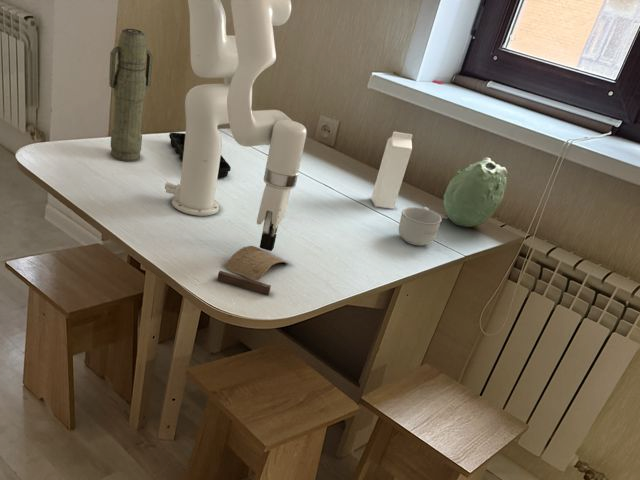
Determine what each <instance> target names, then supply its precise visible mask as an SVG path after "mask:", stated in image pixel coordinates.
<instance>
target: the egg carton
mask: <svg viewBox="0 0 640 480" xmlns="http://www.w3.org/2000/svg"><path fill="white" fill-rule="evenodd" d="M185 133H186V132H185ZM185 133H184V132H170V133H169V134H168V137H169V139H170V143H169V145H170V147H171V148H172V149H174V153H175V154H176V155H178V159H179V161H180V162H183V154H184V143H185ZM231 170H232V167H231V165H230V163H228V162H227V160H226V159H225V158H224V156H223V155H221V157H220V164H219V171H218V177H217V179H224V178H227V177H228V175H229V172H231Z"/></svg>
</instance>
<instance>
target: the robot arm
mask: <svg viewBox="0 0 640 480" xmlns="http://www.w3.org/2000/svg"><path fill="white" fill-rule="evenodd" d="M187 5H188V12H189V46H190V47H189V53H190V54H189V56H190V65H191V69H192V72H193V73H194V74H195V75H196V76H197V77H199V78H204V79H223V82H224V83H204V84H203V83H202V84H200V85H196V86H195V85H194V87H193V86H192V88H190V89H189V91H188V92H187V93H186V96H185V99H184V114H185V115H184V116H185V143H184V154H183V162H182V161H181V162H182V164H181V171H180V182H179V183H178V184H175V183H171V182H168V181H166V182H165V185H164V190H165V193H166V194H169V195H173V197H172V199H171V200H172V201H171V204H172V206H173V207H174V208H175V209H176V210H178V211H179V212H182V213H184V214H188V215H192V216H200V217H203V216H205V217H207V216H212V215H214V214H216V213H218V212H219V210H220V203H219V202H218V201H217V200H216V199H215V197H216V190H217V185H218V184H217V183H218V178H217V177H218V171H219V164H220V157H221V156H222V148H223V141H222V137H221V134H220V132H219V128H218V126H221V125H228V124H229V128H230V132H231V135H232V137H233V139H234V141H235V142H236V143H237V144H238V145H240V146H242V147H246V148H247V147H248V148H249V147H257V146H269V149H268V154H267V159H266V160H267V161H266V163H265V164H266V166H265V170H264V175H263V182H264V184H265V186H264V189H263V193H262V197H261V202H260V205H259V209H258V213H257V218H256V224H257V225H258V226H259V225H261V224H262V223H263V228H262V233H261V237H260V243H259V249H261V250H266V251H269V252H272V251H273V250H274V248H275V244H276V238H277V232H278V229H279V225H280V224H281V222H282V221H283V219H284V218H285V215H286V212H287V208H288V203H289V199H290V194H291V190H293V189H294V188H296V186H297V181H298V175H299V173H300V172H299V171H300V166H301V162H302V159H303V153H304V148H305V144H306V139H307V132H308V131H307V128H306V126H304V124H302V123H300V122H297V121H294V120H293V119H291V118H290V117H289V116H288V115H287V114H286V113H284V112H283V111H281V110H278V109H263V110H261V109H260V110H253V109H252V104H253V85H254V83H255V81H256V80H257V78H258V77H259V75H260V74H261V73H262V72H263V71H265V70H266V69H268V68H270V67H271V66H272V65H273V64H275V62H276V60H277V51H276V44H275V43H276V42H275V36H274V35H275V34H274V28H273V27H280V26H282V25H284V24H286V23H287V22H288V20H289V18H290V16H291V13H292V1H291V0H230V7H231V15H232V23H233V30H234V31H233V32H234V35H227V14H226V12H225V9H224V5H223V3H222V1H221V0H187Z"/></svg>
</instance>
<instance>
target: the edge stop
mask: <svg viewBox="0 0 640 480" xmlns="http://www.w3.org/2000/svg"><path fill="white" fill-rule="evenodd" d="M216 281H217V282H221V283H225V284H227V285H230V286H231V285H232V286H235V287H238V288H241V289H244V290H248V291H252V292H255V293H258V294H261V295H265V296H269V295H270V292H271V287H272V285H271V284H267V283H264V282H261V281H258V280H251V279H249V278H247V277H245V276H241V275H238V274H235V273H230V272H227V271H223V270H219V271H218V273H217V279H216Z"/></svg>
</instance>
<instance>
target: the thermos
mask: <svg viewBox="0 0 640 480" xmlns="http://www.w3.org/2000/svg"><path fill="white" fill-rule="evenodd" d="M117 43H118V44H117V46H115V47H113V48H112V50H111V51H110V52H109V53H110V55H109V76H108V80H109V81H108V83H109V87H110V88H112V89H113V93H112V94H113V97H114V108H113V127H112V131H111V133H110V148H111V149H110V150H111V151H110V156H111V158H113V159H115V160H117V161H121V162H128V163H132V162H137V161H139V160H140V159H141V152H142V143H143V133H142V121H143V107H144V100H145V99H146V91H147V90H148V89H149V88H150V87H151V82H152V69H153V68H152V67H153V55H152V53H151V51H150V50H149V49H147V47H148V45H147V39H146V34H145V33H144V32H142V30H139V29H136V28H124V29H122V30H121V32H120V35H119V38H118V42H117ZM116 55H117V57H116ZM116 58H117V64H116ZM145 64H146V65H145Z"/></svg>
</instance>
